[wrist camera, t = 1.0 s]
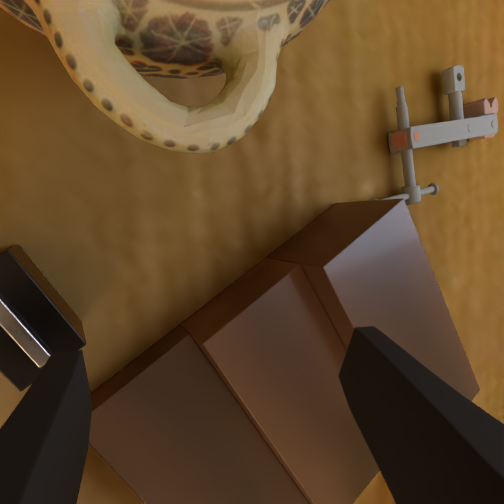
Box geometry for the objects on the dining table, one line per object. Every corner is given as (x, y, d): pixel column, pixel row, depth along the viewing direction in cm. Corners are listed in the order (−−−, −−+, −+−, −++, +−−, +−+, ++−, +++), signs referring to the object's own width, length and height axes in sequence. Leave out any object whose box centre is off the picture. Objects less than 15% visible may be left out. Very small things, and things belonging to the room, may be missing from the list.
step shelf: (222, 572, 24) (267, 669, 19) (71, 407, 19) (76, 477, 14) (410, 362, 32) (480, 389, 26) (335, 202, 27) (404, 197, 21)
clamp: (496, 60, 31) (504, 179, 33) (470, 70, 33) (479, 182, 35) (365, 66, 24) (384, 214, 26) (342, 77, 26) (361, 214, 28)
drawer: (27, 359, 18) (18, 398, 14) (-46, 280, 17) (-79, 298, 13) (81, 322, 19) (88, 348, 15) (18, 243, 18) (5, 250, 14)
